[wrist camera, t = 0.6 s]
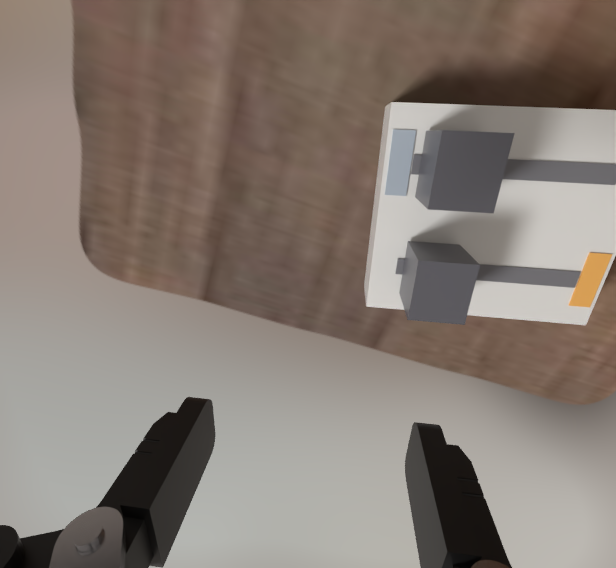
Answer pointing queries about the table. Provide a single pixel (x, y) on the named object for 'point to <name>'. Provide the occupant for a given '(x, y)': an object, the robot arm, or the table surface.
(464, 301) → the outer tab
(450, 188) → the inner tab
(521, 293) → the switch panel
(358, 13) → the table surface
